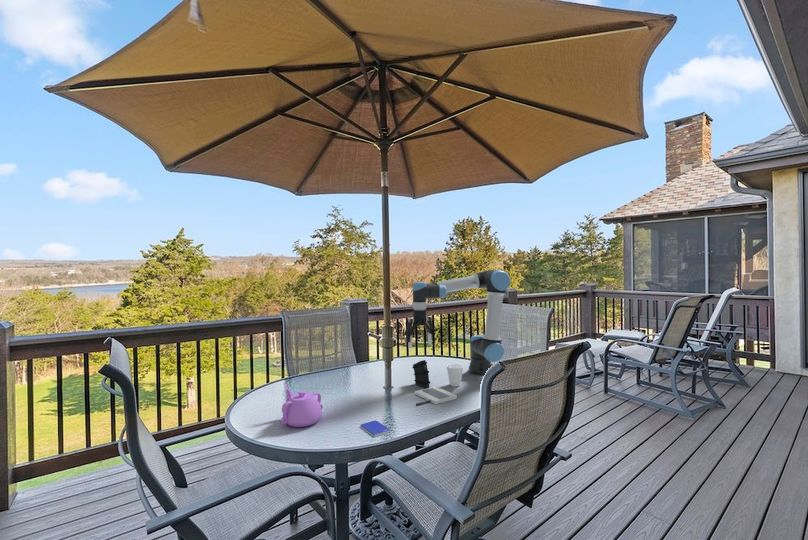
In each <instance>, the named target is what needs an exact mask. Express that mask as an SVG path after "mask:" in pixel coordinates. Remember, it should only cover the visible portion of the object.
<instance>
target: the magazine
mask: <svg viewBox="0 0 808 540" xmlns="http://www.w3.org/2000/svg"><path fill="white" fill-rule="evenodd" d="M427 364H428V361H427V360H424V359H423V360H419V361H418V362H416V363H414V364H412V369H413V376H414V380H413V381H414V383H415V385H417V386H419V387H421V388H423V389H427V388H430V384H431V381H430V375H429V374H430V370H428V365H427Z"/></svg>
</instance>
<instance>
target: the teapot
mask: <svg viewBox="0 0 808 540" xmlns="http://www.w3.org/2000/svg"><path fill="white" fill-rule="evenodd" d="M284 389H285V392H286V396H285V397H286V398H285V402H283V404H282V407H281V412H282V417H281V418H280V424H281V425H287V426H289V427H292V428H304V427H308V426H312V425H314V424H316V423H317V422H319V420H320V419H321V417H322V415H323V408H324V406H323V404H321V400H322V395H321V393H320V392H318V391H317V392H316V391H315V392H313V393H311V392H307V391H306V390H300V391H298V392H297V393H295V394H292V390H291V389H290V388H289V387H288V386H285V387H284ZM316 395H317V397H316Z"/></svg>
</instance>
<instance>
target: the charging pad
mask: <svg viewBox="0 0 808 540" xmlns="http://www.w3.org/2000/svg"><path fill="white" fill-rule="evenodd" d="M414 395H415V396H418V397H420V398H422V399H424V400H423V401H421V402H417V403H416V404H415V406H421V405H424V404H427V403H432V404H434V405H438V404H441V403H445V402H449V401H453V400H457V399H458V395H457V394H454V393H452V392H450V391H448V390H445V389H443V388H441V387H439V386H431V387H429V388H427V389H424V388H423V389H419V390H415V391H414Z"/></svg>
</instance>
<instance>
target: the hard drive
mask: <svg viewBox="0 0 808 540" xmlns="http://www.w3.org/2000/svg"><path fill="white" fill-rule="evenodd" d="M359 426H360V428H362V429H363V430H364V431H365V432H366V433H368V434H370V435H371V436H372V437H374V438H376V437H379V436H382V435H386V434H389V433H392V430H391V429H390V427H388V426H386V425H385V424H383V423H381V422H379V420H376V419H375V420H372V421H368V422H365V423H362V424H360V425H359Z"/></svg>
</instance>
